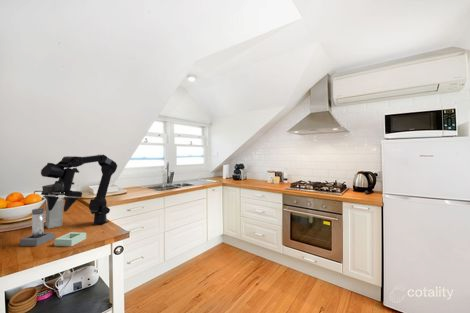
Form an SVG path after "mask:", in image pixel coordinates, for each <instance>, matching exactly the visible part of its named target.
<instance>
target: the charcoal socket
mask: <svg viewBox="0 0 470 313" xmlns="http://www.w3.org/2000/svg"><path fill="white" fill-rule="evenodd" d="M54 239H55V232H49V231H48V232H45V231H44V236H42V237H39V238H32V234H31V235H27V236H25V237H22V238H20V239H19V246H21V247H22V246H23V247H24V246H25V247H38V246H41V245H43V244H45V243H47V242H49V241H53V240H54Z"/></svg>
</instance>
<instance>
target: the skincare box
mask: <svg viewBox="0 0 470 313" xmlns="http://www.w3.org/2000/svg"><path fill="white" fill-rule="evenodd" d="M64 205H65V199H64V200H63V198H60V197H59V198H58V200H57V202H56V203H55V205H54V207H53V209H52V210H51V211H49V210H48V202H47V201H46V211H45V220H44V221H45V222H44V227H46V228H47V229H49V230H50V229H53V228H58V227H62V226H63V216H64Z"/></svg>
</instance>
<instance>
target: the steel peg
mask: <svg viewBox="0 0 470 313" xmlns="http://www.w3.org/2000/svg"><path fill="white" fill-rule="evenodd" d="M44 213H45V210H44V208H43V207H40V208H39V207H38V208H34V209H32V210H31V235H32V238H39V237H42V236H44V232H45V230H44V229H45V228H44V227H45V222H44V221H45V218H44V216H45V214H44Z"/></svg>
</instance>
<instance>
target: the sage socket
mask: <svg viewBox="0 0 470 313" xmlns="http://www.w3.org/2000/svg"><path fill="white" fill-rule="evenodd" d="M86 239H87V232H75V231H72V232H71V231H70V232H68V233H66V234H63V235H61V236H59V237H57V238H54V239H53V240H54V242H53V243H54V244H53V245H54V246H55V247H57V246H58V247H73V246H76V245H77V244H79V243H80V242H83V241H84V240H86Z"/></svg>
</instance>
